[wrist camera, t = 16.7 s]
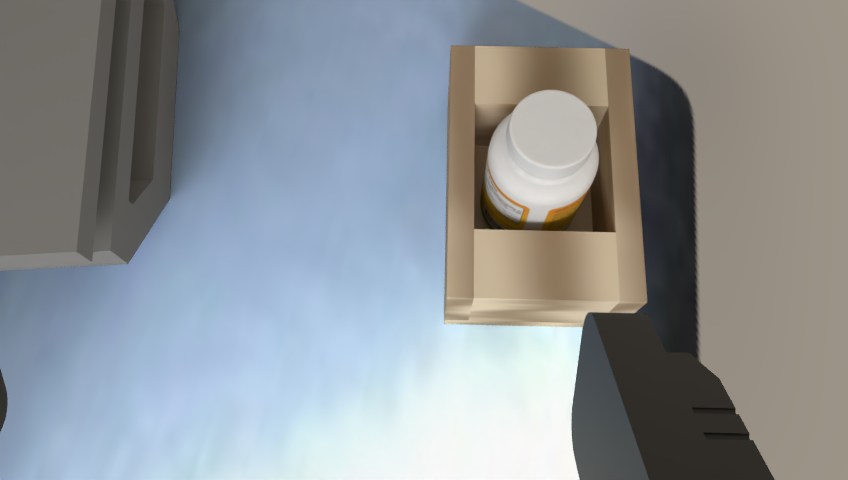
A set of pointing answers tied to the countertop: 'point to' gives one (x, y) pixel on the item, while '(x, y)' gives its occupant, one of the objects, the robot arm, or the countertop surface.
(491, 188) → the supplement bottle
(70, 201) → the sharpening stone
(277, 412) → the countertop surface
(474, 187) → the post socket
